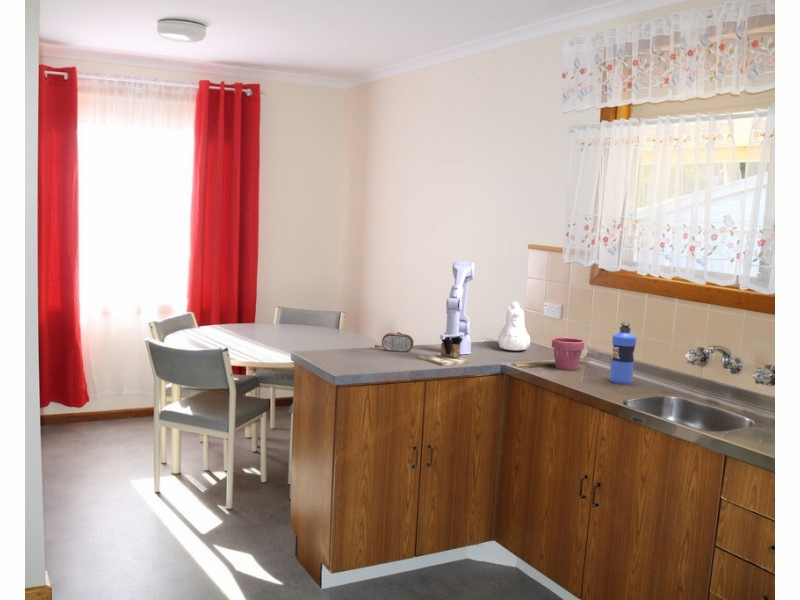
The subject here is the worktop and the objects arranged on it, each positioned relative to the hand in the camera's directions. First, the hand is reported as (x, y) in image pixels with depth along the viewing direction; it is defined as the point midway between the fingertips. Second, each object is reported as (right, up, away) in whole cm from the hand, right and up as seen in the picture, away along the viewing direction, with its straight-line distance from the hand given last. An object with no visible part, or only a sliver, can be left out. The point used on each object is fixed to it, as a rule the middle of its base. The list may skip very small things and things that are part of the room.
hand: (451, 353), depth 326 cm
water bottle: (+68, -10, -29) cm, 75 cm away
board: (-3, -3, -2) cm, 5 cm away
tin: (-25, 0, +15) cm, 29 cm away
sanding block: (-1, -2, +1) cm, 2 cm away
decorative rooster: (+34, -1, +35) cm, 49 cm away
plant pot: (+51, -6, -6) cm, 52 cm away
